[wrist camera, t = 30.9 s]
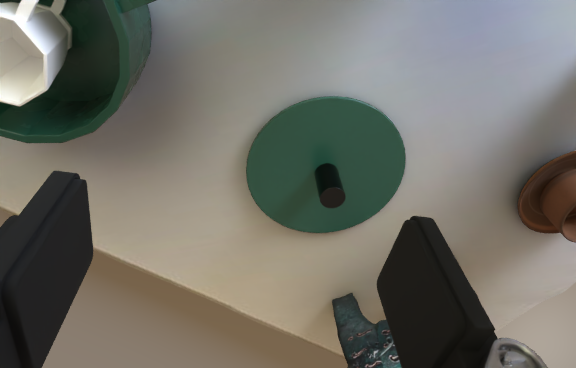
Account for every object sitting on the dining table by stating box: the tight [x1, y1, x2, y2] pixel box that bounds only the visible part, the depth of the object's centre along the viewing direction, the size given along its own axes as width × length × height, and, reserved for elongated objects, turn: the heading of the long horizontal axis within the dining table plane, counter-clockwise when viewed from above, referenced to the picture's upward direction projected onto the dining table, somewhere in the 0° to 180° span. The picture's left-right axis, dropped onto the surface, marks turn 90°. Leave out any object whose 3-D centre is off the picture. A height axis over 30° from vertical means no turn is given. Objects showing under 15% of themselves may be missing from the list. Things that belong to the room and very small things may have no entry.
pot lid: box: [246, 96, 405, 233], centre depth 42 cm, size 17×17×6 cm
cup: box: [0, 0, 72, 106], centre depth 30 cm, size 7×10×8 cm
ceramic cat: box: [332, 288, 479, 368], centre depth 48 cm, size 20×6×20 cm, turn 114°
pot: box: [0, 0, 156, 143], centre depth 31 cm, size 16×22×8 cm
